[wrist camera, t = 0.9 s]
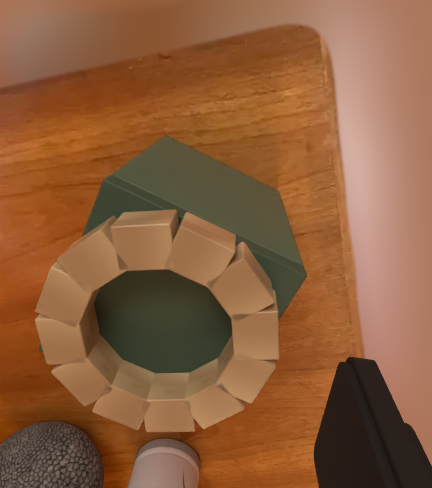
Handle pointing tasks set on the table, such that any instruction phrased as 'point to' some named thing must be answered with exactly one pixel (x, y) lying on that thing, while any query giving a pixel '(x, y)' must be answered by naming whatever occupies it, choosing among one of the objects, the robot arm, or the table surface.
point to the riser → (177, 286)
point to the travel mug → (165, 465)
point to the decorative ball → (50, 458)
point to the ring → (137, 378)
